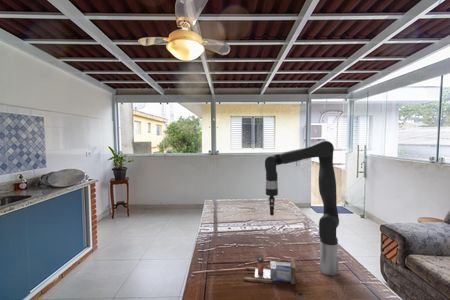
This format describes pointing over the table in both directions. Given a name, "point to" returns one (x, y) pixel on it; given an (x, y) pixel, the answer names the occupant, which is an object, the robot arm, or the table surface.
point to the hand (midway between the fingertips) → (271, 212)
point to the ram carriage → (265, 273)
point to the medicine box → (283, 271)
